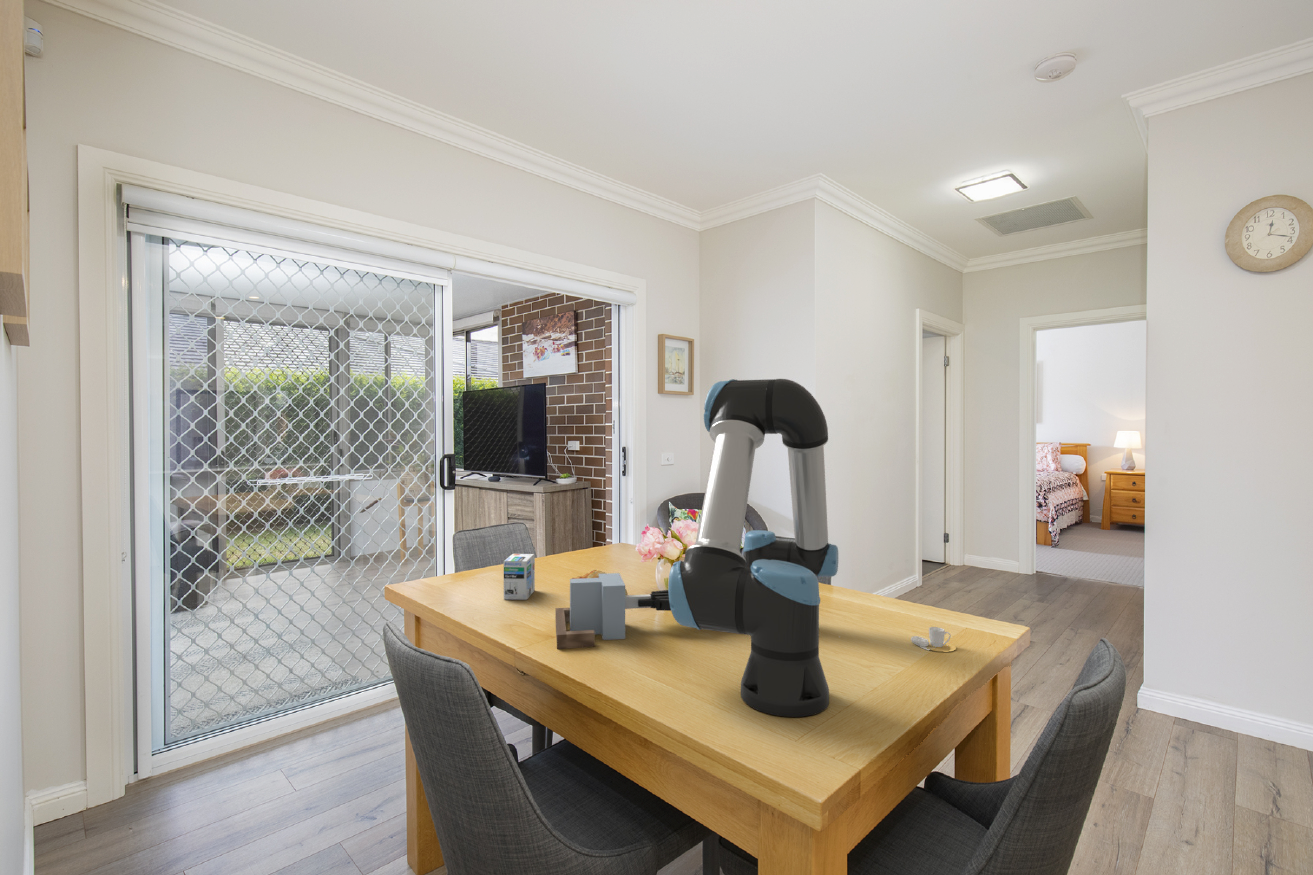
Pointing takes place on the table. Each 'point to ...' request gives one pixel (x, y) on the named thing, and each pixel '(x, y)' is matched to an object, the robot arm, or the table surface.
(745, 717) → the table surface
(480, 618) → the table surface
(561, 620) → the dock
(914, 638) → the teacup and saucer
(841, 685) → the table surface
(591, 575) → the croissant
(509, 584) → the light bulb box
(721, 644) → the table surface
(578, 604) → the t block
